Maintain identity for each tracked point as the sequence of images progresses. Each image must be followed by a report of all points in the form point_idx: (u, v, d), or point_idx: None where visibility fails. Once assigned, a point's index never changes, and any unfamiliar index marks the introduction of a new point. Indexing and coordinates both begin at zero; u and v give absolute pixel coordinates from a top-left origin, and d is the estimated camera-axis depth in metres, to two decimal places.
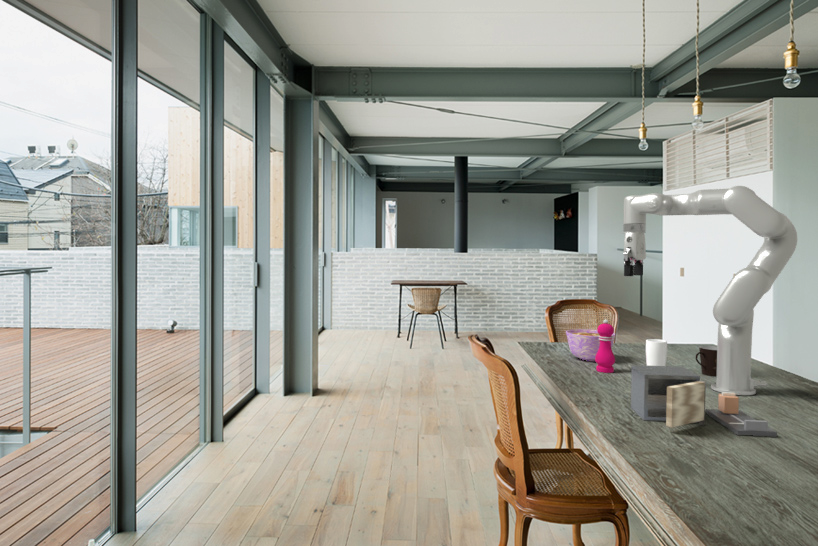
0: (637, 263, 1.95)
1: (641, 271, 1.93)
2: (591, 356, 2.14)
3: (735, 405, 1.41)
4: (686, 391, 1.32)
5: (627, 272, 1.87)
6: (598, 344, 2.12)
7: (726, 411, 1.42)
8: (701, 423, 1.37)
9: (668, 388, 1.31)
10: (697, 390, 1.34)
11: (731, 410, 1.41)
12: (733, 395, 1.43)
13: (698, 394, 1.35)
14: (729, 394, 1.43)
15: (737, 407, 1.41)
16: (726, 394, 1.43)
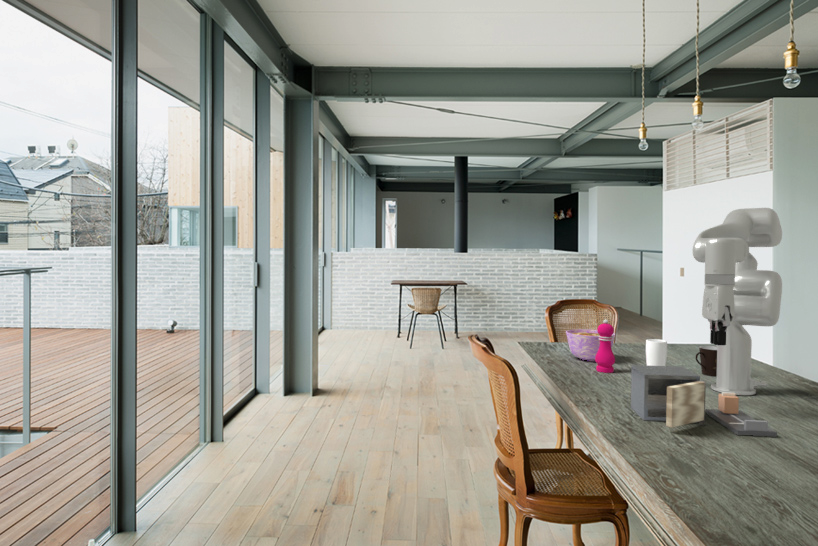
0: None
1: None
2: (591, 356, 2.14)
3: (735, 405, 1.41)
4: (686, 391, 1.32)
5: None
6: (598, 344, 2.12)
7: (726, 411, 1.42)
8: (701, 423, 1.37)
9: (668, 388, 1.31)
10: (697, 390, 1.34)
11: (731, 410, 1.41)
12: (733, 395, 1.43)
13: (698, 394, 1.35)
14: (729, 394, 1.43)
15: (737, 407, 1.41)
16: (726, 394, 1.43)
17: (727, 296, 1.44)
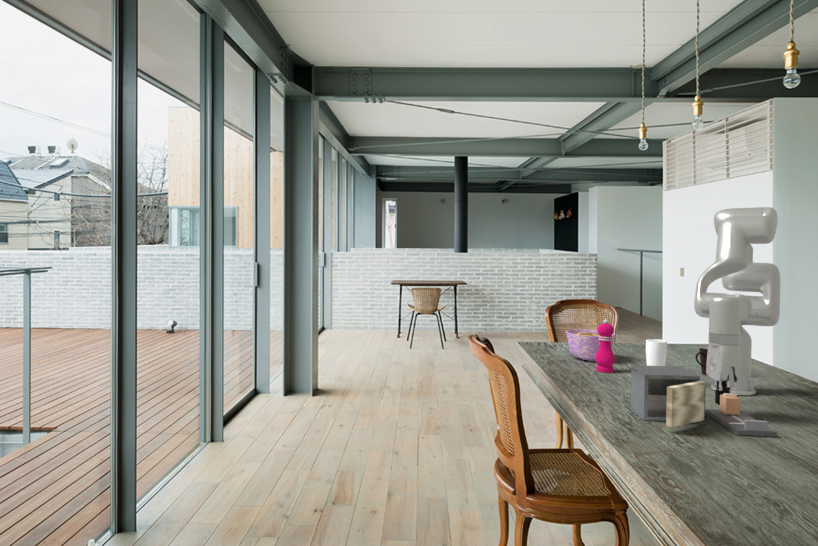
0: None
1: None
2: (591, 356, 2.14)
3: (736, 406, 1.40)
4: (686, 391, 1.32)
5: None
6: (598, 344, 2.12)
7: (727, 412, 1.41)
8: (701, 423, 1.37)
9: (668, 388, 1.31)
10: (697, 390, 1.34)
11: (733, 411, 1.41)
12: (735, 396, 1.42)
13: (698, 394, 1.35)
14: (731, 395, 1.42)
15: (739, 408, 1.40)
16: (727, 395, 1.42)
17: (732, 357, 1.41)
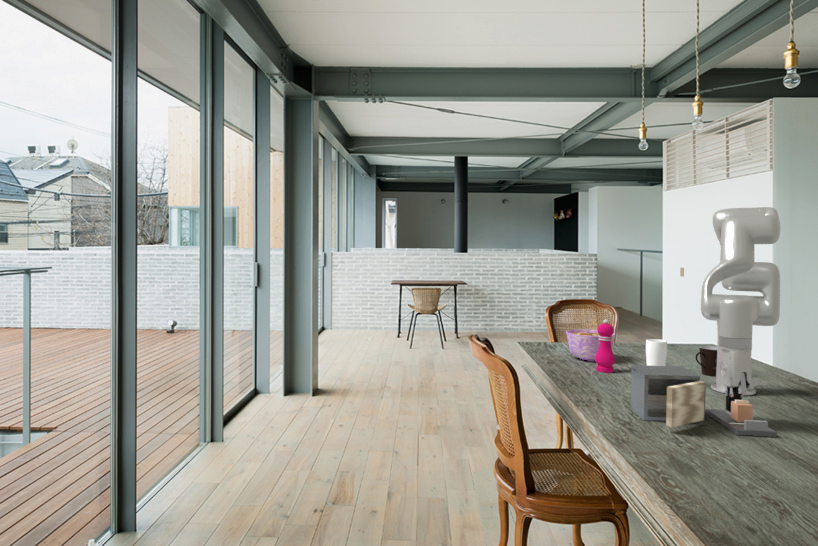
0: None
1: None
2: (591, 356, 2.14)
3: (748, 413, 1.34)
4: (686, 391, 1.32)
5: None
6: (598, 344, 2.12)
7: (739, 419, 1.34)
8: (701, 423, 1.37)
9: (668, 388, 1.31)
10: (697, 390, 1.34)
11: (745, 418, 1.34)
12: (747, 402, 1.35)
13: (698, 394, 1.35)
14: (742, 401, 1.36)
15: (751, 415, 1.34)
16: (739, 402, 1.36)
17: (744, 362, 1.35)
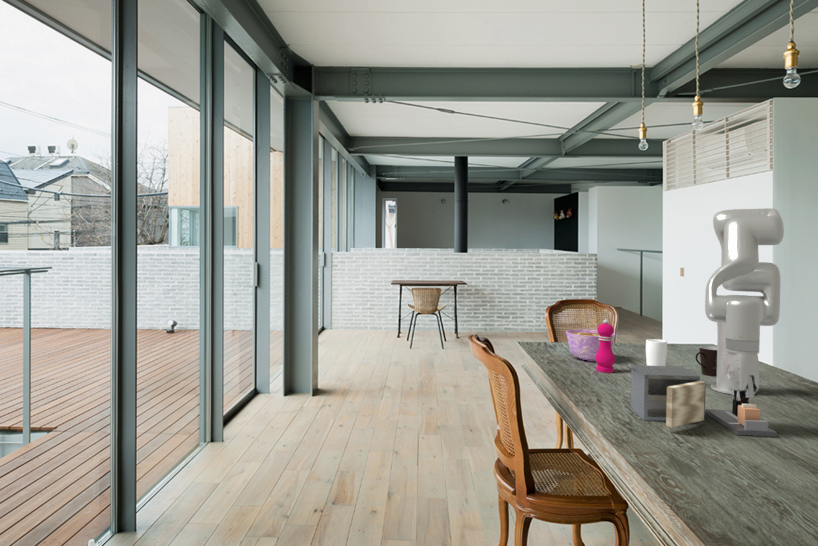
0: None
1: None
2: (591, 356, 2.14)
3: (756, 418, 1.30)
4: (686, 391, 1.32)
5: None
6: (598, 344, 2.12)
7: None
8: (701, 423, 1.37)
9: (668, 388, 1.31)
10: (697, 390, 1.34)
11: None
12: (754, 407, 1.32)
13: (698, 394, 1.35)
14: (750, 406, 1.32)
15: None
16: (746, 406, 1.32)
17: (751, 365, 1.31)
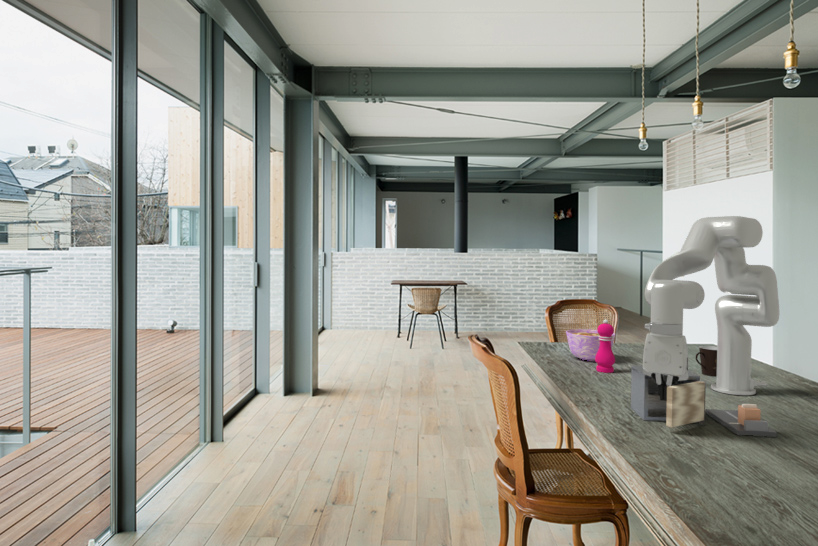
0: None
1: (664, 395, 1.34)
2: (591, 356, 2.14)
3: (756, 418, 1.30)
4: (686, 391, 1.32)
5: None
6: (598, 344, 2.12)
7: None
8: (701, 423, 1.37)
9: (668, 388, 1.31)
10: (697, 390, 1.34)
11: None
12: (754, 407, 1.32)
13: (698, 394, 1.35)
14: (750, 406, 1.32)
15: None
16: (747, 406, 1.32)
17: (686, 347, 1.31)
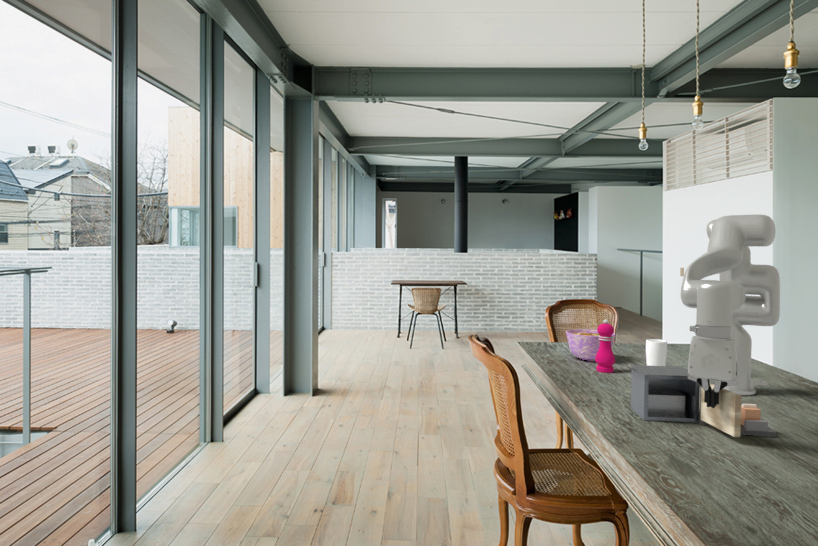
0: None
1: (711, 401, 1.27)
2: (591, 356, 2.14)
3: (756, 418, 1.30)
4: None
5: None
6: (598, 344, 2.12)
7: None
8: (704, 423, 1.37)
9: (737, 396, 1.23)
10: None
11: None
12: (754, 407, 1.32)
13: None
14: (750, 406, 1.32)
15: None
16: (747, 406, 1.32)
17: (736, 351, 1.24)
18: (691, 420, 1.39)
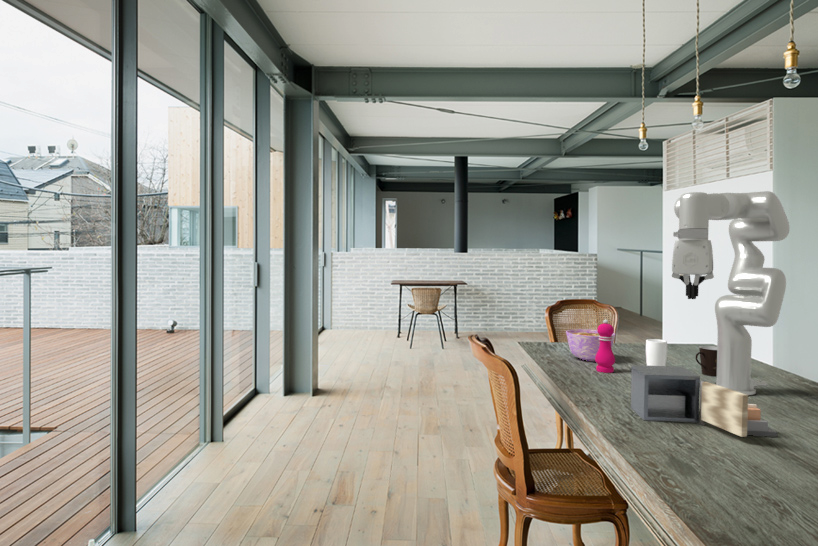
0: None
1: (691, 293, 1.50)
2: (591, 356, 2.14)
3: (756, 418, 1.30)
4: None
5: None
6: (598, 344, 2.12)
7: None
8: (704, 423, 1.37)
9: (744, 396, 1.23)
10: None
11: None
12: (754, 407, 1.32)
13: None
14: (750, 406, 1.32)
15: None
16: None
17: None
18: (691, 420, 1.39)
